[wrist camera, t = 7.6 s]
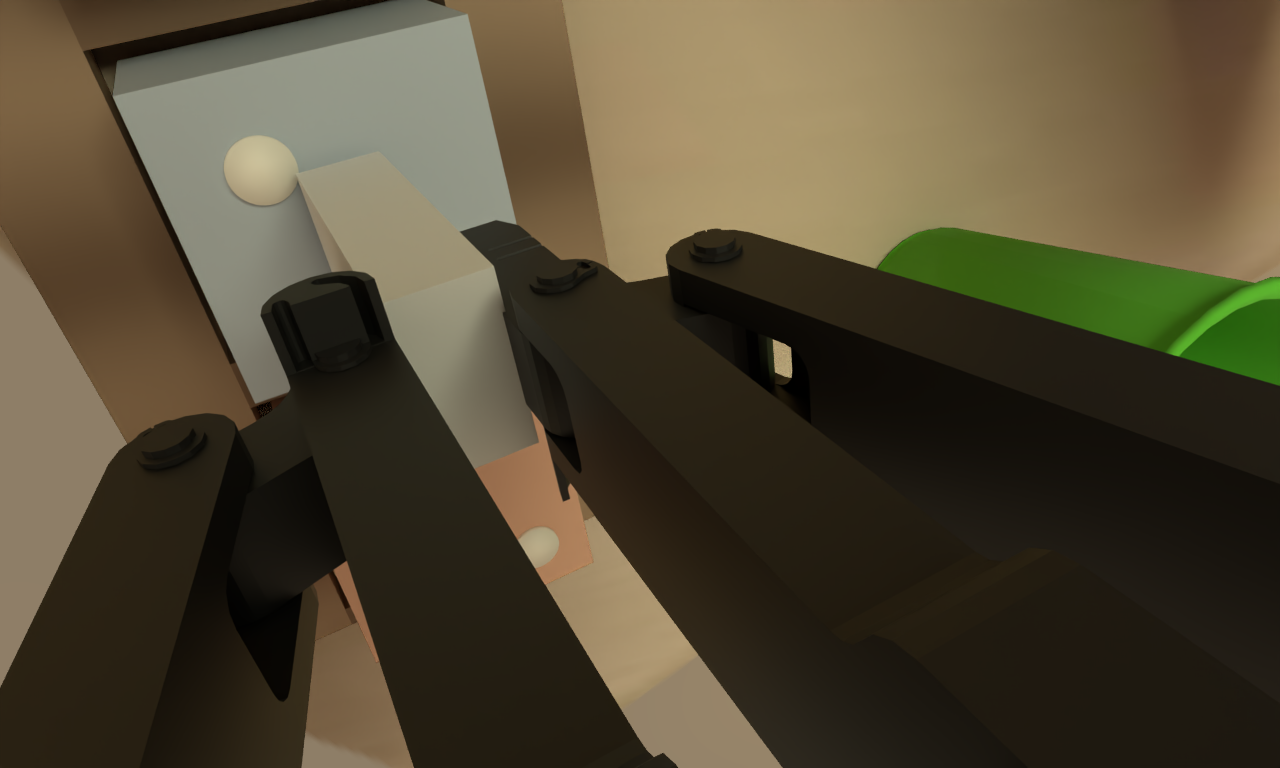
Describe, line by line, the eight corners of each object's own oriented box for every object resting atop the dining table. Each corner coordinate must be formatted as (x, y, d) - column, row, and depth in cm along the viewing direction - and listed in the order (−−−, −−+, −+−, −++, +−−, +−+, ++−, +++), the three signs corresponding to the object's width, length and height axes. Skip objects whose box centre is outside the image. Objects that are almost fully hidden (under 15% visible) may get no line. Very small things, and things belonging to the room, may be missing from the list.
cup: (848, 451, 33) (1097, 643, 24) (781, 265, 28) (1073, 429, 19) (1023, 319, 34) (1317, 457, 26) (993, 116, 29) (1354, 207, 20)
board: (-439, -589, 12) (-505, -646, 10) (426, -590, 15) (450, -631, 14) (251, 630, 25) (256, 666, 23) (627, 467, 28) (648, 492, 27)
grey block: (117, 60, 17) (111, 97, 14) (413, -5, 19) (469, 14, 16) (237, 326, 20) (256, 407, 17) (479, 248, 22) (537, 307, 19)
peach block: (268, 393, 21) (291, 480, 18) (494, 313, 23) (552, 380, 20) (346, 566, 25) (377, 667, 21) (539, 484, 27) (595, 565, 23)
